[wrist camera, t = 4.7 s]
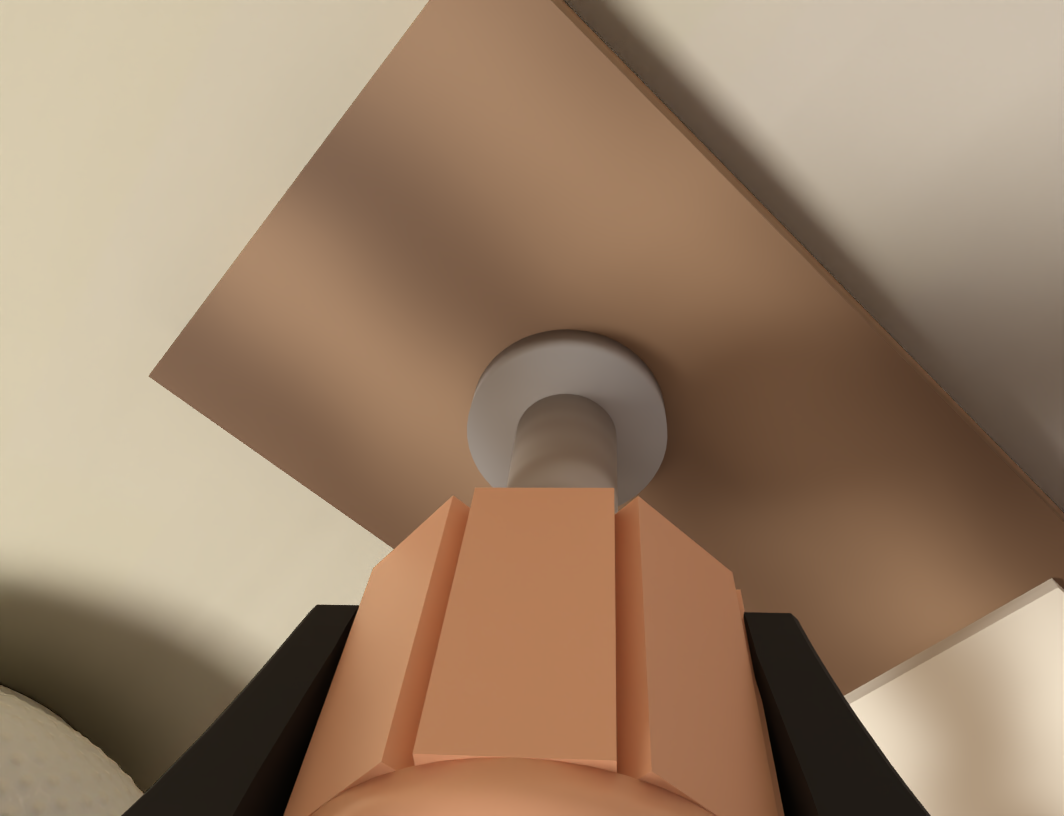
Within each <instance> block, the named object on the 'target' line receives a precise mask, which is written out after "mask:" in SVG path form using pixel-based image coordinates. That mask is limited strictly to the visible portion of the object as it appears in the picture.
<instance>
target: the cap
mask: <svg viewBox="0 0 1064 816" xmlns="http://www.w3.org/2000/svg"><path fill="white" fill-rule="evenodd" d="M744 612H745V610H744V605H743V600H742V595H741V590H736V588H735V583H734V577H733V573H732V572H731V571H730V570H729V569H728V568H726V567H725V566H724V565H723V564H721V563H720V562H719V561H718V560H716V559H715V558H714V557H713V556H712V555H710V554H709V553H708V552H707V551H705V550H704V549H703V548H702V547H700V546H699V545H698V544H697V543H696V542H694V541H693V540H692V539H691V538H689V537H688V536H687V535H686V534H684V533H683V532H682V531H681V530H680V529H678V528H677V527H676V526H675V525H673V524H672V523H671V522H670V521H668V520H667V519H666V518H665V517H664V516H662V515H661V514H660V513H659V512H657V511H656V510H655V509H654V508H652V507H651V506H650V505H649V504H648V503H646V502H645V501H644V500H643V499H641V498H640V497H639V496H637V497H636V498H635V499H633V500H632V501H631V502H630V503H628V504H627V505H626V506H625V507H623V508H622V509H621V510H619V511H618V512H617V513H616V514H615V511H614V488H475V490H474V494H473V499H472V503H471V507H468V506H467V505H466V504H464V503H463V502H462V501H460V500H459V499H457V498H456V497H455V496H452V497H451V498H450V499H448V500H447V501H446V502H445V503H444V504H443V505H442V506H441V507H440V508H439V509H437V510H436V511H435V512H434V513H433V514H432V515H431V516H430V517H429V518H428V519H427V520H425V521H424V522H423V523H422V524H421V525H420V526H419V527H418V528H417V529H416V530H414V531H413V532H412V533H411V534H410V535H409V536H408V537H407V538H406V539H405V540H404V541H402V542H401V543H400V544H399V545H398V546H397V547H396V548H395V549H394V550H393V551H391V552H390V553H389V554H388V555H387V556H386V557H385V558H384V559H383V560H382V561H381V562H379V563H378V564H377V565H376V566H375V567H374V568H373V570H372V573H371V575H370V578H369V581H368V584H367V586H366V589H365V592H364V595H363V597H362V600H361V603H360V606H359V608H358V611H357V614H356V617H355V619H354V622H353V625H352V628H351V630H350V633H349V636H348V639H347V641H346V644H345V647H344V650H343V653H342V655H341V658H340V661H339V664H338V666H337V669H336V672H335V675H334V677H333V680H332V683H331V686H330V688H329V691H328V694H327V697H326V699H325V702H324V705H323V708H322V710H321V713H320V716H319V719H318V721H317V724H316V727H315V730H314V733H313V735H312V738H311V741H310V744H309V746H308V749H307V752H306V755H305V757H304V760H303V763H302V766H301V768H300V771H299V774H298V777H297V779H296V782H295V785H294V788H293V790H292V793H291V796H290V799H289V801H288V804H287V807H286V810H285V813H284V815H283V816H784V811H783V806H782V801H781V795H780V790H779V785H778V780H777V775H776V770H775V765H774V759H773V754H772V749H771V744H770V739H769V734H768V729H767V723H766V718H765V713H764V708H763V703H762V699H761V696H760V693H759V689H758V686H757V683H756V679H755V675H754V670H753V665H752V660H751V654H750V649H749V644H748V639H747V634H746V628H745V623H744V618H743V617H744Z"/></svg>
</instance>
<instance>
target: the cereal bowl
mask: <svg viewBox="0 0 1064 816" xmlns="http://www.w3.org/2000/svg"><path fill="white" fill-rule="evenodd" d="M142 795H143V792H142V791H141V790H139V789H138V788H137V787H136V785H135V784H134V782H133V780H132V778H131V777H130V776H129V775H127V774H126V773H124V772H123V771H122V770H121V768H120V767H119V766H118V764H117V763H116V762H114V761H113V760H112V759H110V758H109V757H107V756H106V755H105V753H104V752H103V751H102V750H101V748H99V747H97V746H95V745H93V744H92V743H91V742H90V741H89V740H88V738H86V737H83V736H82V735H81V734H80V733H79V732H77V731H75V730H74V729H73V728H72V727H71V726H70V725H68V724H67V723H66V722H65V721H64V720H63V719H62V718H60V717H59V716H58V715H56V714H55V713H53V712H52V711H50V710H49V709H48V708H46V707H44V706H43V705H41V704H39V703H37V702H36V701H34V700H32V699H30V698H28V697H26V696H24V695H22V694H20V693H18V692H16V691H14V690H11V689H9V688H7V687H4V686H2V685H0V816H121V815H122V814H123V813H124V812H125V811H126V810H128V809H129V808H130V807H131V806H132V805H133V804H134V803H135V802H136V801H137V800H138V799H139V798H140V797H141V796H142Z"/></svg>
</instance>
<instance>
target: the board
mask: <svg viewBox="0 0 1064 816" xmlns="http://www.w3.org/2000/svg"><path fill="white" fill-rule="evenodd" d="M149 377H150V378H152V379H153V380H155V381H156V382H157V383H159V384H160V385H162V386H163V387H165V388H166V389H167V390H169V391H170V392H172V393H173V394H174V395H176V396H177V397H179V398H180V399H182V400H183V401H184V402H186V403H187V404H189V405H190V406H192V407H193V408H194V409H196V410H197V411H199V412H200V413H201V414H203V415H204V416H206V417H207V418H209V419H210V420H211V421H213V422H214V423H216V424H217V425H219V426H220V427H221V428H223V429H224V430H226V431H227V432H228V433H230V434H231V435H233V436H234V437H236V438H237V439H238V440H240V441H241V442H243V443H244V444H246V445H247V446H248V447H250V448H251V449H253V450H254V451H255V452H257V453H258V454H260V455H261V456H263V457H264V458H265V459H267V460H268V461H270V462H271V463H273V464H274V465H275V466H277V467H278V468H280V469H281V470H283V471H284V472H285V473H287V474H288V475H290V476H291V477H292V478H294V479H295V480H297V481H298V482H300V483H301V484H302V485H304V486H305V487H307V488H308V489H310V490H311V491H312V492H314V493H315V494H317V495H318V496H319V497H321V498H322V499H324V500H325V501H327V502H328V503H329V504H331V505H332V506H334V507H335V508H337V509H338V510H339V511H341V512H342V513H344V514H345V515H346V516H348V517H349V518H351V519H352V520H354V521H355V522H356V523H358V524H359V525H361V526H362V527H364V528H365V529H366V530H368V531H369V532H371V533H372V534H373V535H375V536H376V537H378V538H379V539H381V540H382V541H383V542H385V543H386V544H388V545H389V546H391V547H392V548H393V549H395V548H396V547H397V546H398V545H399V544H400V543H401V542H402V541H404V540H405V539H406V538H407V537H408V536H409V535H410V534H411V533H412V532H413V531H414V530H416V529H417V528H418V527H419V526H420V525H421V524H422V523H423V522H424V521H425V520H427V519H428V518H429V517H430V516H431V515H432V514H433V513H434V512H435V511H436V510H437V509H439V508H440V507H441V506H442V505H443V504H444V503H445V502H446V501H447V500H448V499H450V498H451V497H452V496H455V497H456V498H457V499H459V500H460V501H462V502H463V503H464V504H466V505H467V506H468V507H471V503H472V499H473V494H474V490H475V488H614V511H615V514H616V513H617V512H618V511H619V510H621V509H622V508H623V507H625V506H626V505H627V504H628V503H630V502H631V501H632V500H633V499H635V498H636V497H637V496H639V497H640V498H641V499H643V500H644V501H645V502H646V503H648V504H649V505H650V506H651V507H652V508H654V509H655V510H656V511H657V512H659V513H660V514H661V515H662V516H664V517H665V518H666V519H667V520H668V521H670V522H671V523H672V524H673V525H675V526H676V527H677V528H678V529H680V530H681V531H682V532H683V533H684V534H686V535H687V536H688V537H689V538H691V539H692V540H693V541H694V542H696V543H697V544H698V545H699V546H700V547H702V548H703V549H704V550H705V551H707V552H708V553H709V554H710V555H712V556H713V557H714V558H715V559H716V560H718V561H719V562H720V563H721V564H723V565H724V566H725V567H726V568H728V569H729V570H730V571H731V572H732V573H733V577H734V583H735V588H736V590H741V595H742V600H743V605H744V610H745V612H762V613H791V614H792V615H793V616H794V617H796V618H797V619H798V621H799V622H800V624H801V626H802V628H803V630H804V632H805V633H806V635H807V637H808V639H809V640H810V642H811V644H812V646H813V647H814V649H815V651H816V652H817V654H818V656H819V657H820V659H821V661H822V662H823V664H824V666H825V667H826V669H827V670H828V672H829V674H830V675H831V677H832V678H833V680H834V682H835V683H836V685H837V686H838V688H839V689H840V691H841V692H842V694H843V696H844V697H845V699H846V700H847V702H848V703H849V705H850V706H851V708H852V709H853V711H854V712H855V714H856V715H857V717H858V718H859V719H860V721H861V722H862V724H863V725H864V727H865V728H866V729H867V731H868V732H869V734H870V735H871V736H872V738H873V739H874V741H875V742H876V743H877V745H878V746H879V748H880V749H881V751H882V752H883V753H884V755H885V756H886V758H887V759H888V760H889V762H890V763H891V765H892V766H893V767H894V769H895V770H896V771H897V773H898V774H899V775H900V777H901V778H902V779H903V781H904V782H905V783H906V785H907V786H908V787H909V789H910V790H911V791H912V792H913V794H914V795H915V796H916V797H917V799H918V800H919V801H920V802H921V804H922V805H923V806H924V808H925V809H926V810H927V811H928V813H929V814H930V815H931V816H1064V512H1063V511H1062V510H1061V509H1060V508H1059V507H1058V506H1057V505H1056V504H1055V503H1054V502H1053V501H1052V500H1051V499H1050V498H1049V497H1048V496H1047V495H1046V494H1045V493H1044V492H1043V491H1042V490H1041V489H1040V488H1039V487H1038V486H1037V485H1036V484H1035V483H1034V482H1033V481H1032V480H1031V479H1030V478H1029V477H1028V476H1027V475H1026V474H1025V473H1024V472H1023V470H1022V469H1021V468H1020V467H1019V466H1018V465H1017V464H1016V463H1015V462H1014V461H1013V460H1012V459H1011V458H1010V457H1009V456H1008V455H1007V454H1006V453H1005V452H1004V451H1003V450H1002V449H1001V448H1000V447H999V446H998V445H997V444H996V443H995V442H994V441H993V440H992V439H991V438H990V437H989V436H988V435H987V434H986V433H985V432H984V431H983V430H982V429H981V428H980V427H979V425H978V424H977V423H976V422H975V421H974V420H973V419H972V418H971V417H970V416H969V415H968V414H967V413H966V412H965V411H964V410H963V409H962V408H961V407H960V406H959V405H958V404H957V403H956V402H955V401H954V400H953V399H952V398H951V397H950V396H949V395H948V394H947V393H946V392H945V391H944V390H943V389H942V388H941V387H940V386H939V385H938V384H937V383H936V382H935V380H934V379H933V378H932V377H931V376H930V375H929V374H928V373H927V372H926V371H925V370H924V369H923V368H922V367H921V366H920V365H919V364H918V363H917V362H916V361H915V360H914V359H913V358H912V357H911V356H910V355H909V354H908V353H907V352H906V351H905V350H904V349H903V348H902V347H901V346H900V345H899V344H898V343H897V342H896V341H895V340H894V339H893V338H892V337H891V336H890V334H889V333H888V332H887V331H886V330H885V329H884V328H883V327H882V326H881V325H880V324H879V323H878V322H877V321H876V320H875V319H874V318H873V317H872V316H871V315H870V314H869V313H868V312H867V311H866V310H865V309H864V308H863V307H862V306H861V305H860V304H859V303H858V302H857V301H856V300H855V299H854V298H853V297H852V296H851V295H850V294H849V293H848V292H847V291H846V289H845V288H844V287H843V286H842V285H841V284H840V283H839V282H838V281H837V280H836V279H835V278H834V277H833V276H832V275H831V274H830V273H829V272H828V271H827V270H826V269H825V268H824V267H823V266H822V265H821V264H820V263H819V262H818V261H817V260H816V259H815V258H814V257H813V256H812V255H811V254H810V253H809V252H808V251H807V250H806V249H805V248H804V247H803V246H802V244H801V243H800V242H799V241H798V240H797V239H796V238H795V237H794V236H793V235H792V234H791V233H790V232H789V231H788V230H787V229H786V228H785V227H784V226H783V225H782V224H781V223H780V222H779V221H778V220H777V219H776V218H775V217H774V216H773V215H772V214H771V213H770V212H769V211H768V210H767V209H766V208H765V207H764V206H763V205H762V204H761V203H760V202H759V201H758V199H757V198H756V197H755V196H754V195H753V194H752V193H751V192H750V191H749V190H748V189H747V188H746V187H745V186H744V185H743V184H742V183H741V182H740V181H739V180H738V179H737V178H736V177H735V176H734V175H733V174H732V173H731V172H730V171H729V170H728V169H727V168H726V167H725V166H724V165H723V164H722V163H721V162H720V161H719V160H718V159H717V158H716V157H715V156H714V155H713V153H712V152H711V151H710V150H709V149H708V148H707V147H706V146H705V145H704V144H703V143H702V142H701V141H700V140H699V139H698V138H697V137H696V136H695V135H694V134H693V133H692V132H691V131H690V130H689V129H688V128H687V127H686V126H685V125H684V124H683V123H682V122H681V121H680V120H679V119H678V118H677V117H676V116H675V115H674V114H673V113H672V112H671V111H670V110H669V108H668V107H667V106H666V105H665V104H664V103H663V102H662V101H661V100H660V99H659V98H658V97H657V96H656V95H655V94H654V93H653V92H652V91H651V90H650V89H649V88H648V87H647V86H646V85H645V84H644V83H643V82H642V81H641V80H640V79H639V78H638V77H637V76H636V75H635V74H634V73H633V72H632V71H631V70H630V69H629V68H628V67H627V66H626V65H625V63H624V62H623V61H622V60H621V59H620V58H619V57H618V56H617V55H616V54H615V53H614V52H613V51H612V50H611V49H610V48H609V47H608V46H607V45H606V44H605V43H604V42H603V41H602V40H601V39H600V38H599V37H598V36H597V35H596V34H595V33H594V32H593V31H592V30H591V29H590V28H589V27H588V26H587V25H586V24H585V23H584V22H583V21H582V20H581V18H580V17H579V16H578V15H577V14H576V13H575V12H574V11H573V10H572V9H571V8H570V7H569V6H568V5H567V4H566V3H565V2H564V1H563V0H429V2H428V3H427V4H426V6H425V7H424V8H423V10H422V11H421V12H420V14H419V15H418V16H417V18H416V19H415V20H414V22H413V23H412V24H411V26H410V27H409V28H408V30H407V31H406V32H405V34H404V35H403V36H402V38H401V39H400V40H399V42H398V43H397V44H396V46H395V47H394V48H393V50H392V51H391V52H390V54H389V55H388V56H387V58H386V59H385V60H384V62H383V63H382V64H381V66H380V67H379V69H378V70H377V71H376V73H375V74H374V75H373V77H372V78H371V79H370V81H369V82H368V83H367V85H366V86H365V87H364V89H363V90H362V91H361V93H360V94H359V95H358V97H357V98H356V99H355V101H354V102H353V103H352V105H351V106H350V107H349V109H348V110H347V111H346V113H345V114H344V115H343V117H342V118H341V119H340V121H339V122H338V123H337V125H336V126H335V127H334V129H333V130H332V131H331V133H330V134H329V135H328V137H327V138H326V139H325V141H324V142H323V143H322V145H321V146H320V147H319V149H318V150H317V151H316V153H315V154H314V155H313V157H312V158H311V159H310V161H309V162H308V163H307V165H306V166H305V167H304V169H303V170H302V171H301V173H300V174H299V175H298V177H297V178H296V179H295V181H294V182H293V184H292V185H291V186H290V188H289V189H288V190H287V192H286V193H285V194H284V196H283V197H282V198H281V200H280V201H279V202H278V204H277V205H276V206H275V208H274V209H273V210H272V212H271V213H270V214H269V216H268V217H267V218H266V220H265V221H264V222H263V224H262V225H261V226H260V228H259V229H258V230H257V232H256V233H255V234H254V236H253V237H252V238H251V240H250V241H249V242H248V244H247V245H246V246H245V248H244V249H243V250H242V252H241V253H240V254H239V256H238V257H237V258H236V260H235V261H234V262H233V264H232V265H231V266H230V268H229V269H228V270H227V272H226V273H225V274H224V276H223V277H222V278H221V280H220V281H219V282H218V284H217V285H216V286H215V288H214V289H213V290H212V292H211V293H210V294H209V296H208V297H207V299H206V300H205V301H204V303H203V304H202V305H201V307H200V308H199V309H198V311H197V312H196V313H195V315H194V316H193V317H192V319H191V320H190V321H189V323H188V324H187V325H186V327H185V328H184V329H183V331H182V332H181V333H180V335H179V336H178V337H177V339H176V340H175V341H174V343H173V344H172V345H171V347H170V348H169V349H168V351H167V352H166V353H165V355H164V356H163V357H162V359H161V360H160V361H159V363H158V364H157V365H156V367H155V368H154V369H153V371H152V372H151V373H150V375H149Z"/></svg>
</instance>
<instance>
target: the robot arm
mask: <svg viewBox="0 0 1064 816" xmlns="http://www.w3.org/2000/svg"><path fill="white" fill-rule="evenodd" d="M358 608H359V605H316V606H315V607H314V608H313V609H312V610H311V611H310V612H309V613H308V615H307V616H306V617H305V618H304V619H303V620H302V622H301V623H300V624H299V625H298V626H297V627H296V629H295V630H294V631H293V632H292V633H291V635H290V636H289V637H288V638H287V639H286V641H285V642H284V643H283V644H282V645H281V646H280V648H279V649H278V650H277V651H276V652H275V654H274V655H273V656H272V657H271V658H270V659H269V661H268V662H267V663H266V664H265V665H264V666H263V668H262V669H261V670H260V671H259V672H258V673H257V674H256V676H255V677H254V678H253V679H252V680H251V681H250V683H249V684H248V685H247V686H246V687H245V688H244V689H243V690H242V692H241V693H240V694H239V695H238V696H237V697H236V698H235V699H234V700H233V702H232V703H231V704H230V705H229V706H228V707H227V708H226V709H225V710H224V712H223V713H222V714H221V715H220V716H219V717H218V718H217V719H216V720H215V722H214V723H213V724H212V725H211V726H210V727H209V728H208V729H207V730H206V731H205V732H204V733H203V735H202V736H201V737H200V738H199V739H198V740H197V741H196V742H195V743H194V744H193V745H192V746H191V747H190V748H189V749H188V750H187V751H186V752H185V753H184V754H183V755H182V756H181V757H180V758H179V759H178V760H177V761H176V762H175V763H174V764H173V765H172V766H171V767H170V768H169V769H168V770H167V771H166V772H165V773H164V774H163V775H162V776H161V777H160V779H159V780H158V781H157V782H156V783H155V784H154V785H153V786H152V787H151V788H150V789H148V790H147V791H146V792H145V793H144V794H143V795H142V796H141V797H140V798H139V799H138V800H137V801H136V802H135V803H134V804H133V805H132V806H131V807H130V808H129V809H128V810H126V811H125V812H124V813H123V814H122V815H121V816H283V815H284V813H285V810H286V807H287V804H288V801H289V799H290V796H291V793H292V790H293V788H294V785H295V782H296V779H297V777H298V774H299V771H300V768H301V766H302V763H303V760H304V757H305V755H306V752H307V749H308V746H309V744H310V741H311V738H312V735H313V733H314V730H315V727H316V724H317V721H318V719H319V716H320V713H321V710H322V708H323V705H324V702H325V699H326V697H327V694H328V691H329V688H330V686H331V683H332V680H333V677H334V675H335V672H336V669H337V666H338V664H339V661H340V658H341V655H342V653H343V650H344V647H345V644H346V641H347V639H348V636H349V633H350V630H351V628H352V625H353V622H354V619H355V617H356V614H357V611H358ZM743 618H744V623H745V628H746V634H747V639H748V644H749V649H750V654H751V660H752V665H753V670H754V675H755V679H756V683H757V686H758V689H759V693H760V696H761V699H762V703H763V708H764V713H765V718H766V723H767V729H768V734H769V739H770V744H771V749H772V754H773V759H774V765H775V770H776V775H777V780H778V785H779V790H780V795H781V801H782V806H783V811H784V816H931V815H930V814H929V813H928V811H927V810H926V809H925V808H924V806H923V805H922V804H921V802H920V801H919V800H918V799H917V797H916V796H915V795H914V794H913V792H912V791H911V790H910V789H909V787H908V786H907V785H906V783H905V782H904V781H903V779H902V778H901V777H900V775H899V774H898V773H897V771H896V770H895V769H894V767H893V766H892V765H891V763H890V762H889V760H888V759H887V758H886V756H885V755H884V753H883V752H882V751H881V749H880V748H879V746H878V745H877V743H876V742H875V741H874V739H873V738H872V736H871V735H870V734H869V732H868V731H867V729H866V728H865V727H864V725H863V724H862V722H861V721H860V719H859V718H858V717H857V715H856V714H855V712H854V711H853V709H852V708H851V706H850V705H849V703H848V702H847V700H846V699H845V697H844V696H843V694H842V692H841V691H840V689H839V688H838V686H837V685H836V683H835V682H834V680H833V678H832V677H831V675H830V674H829V672H828V670H827V669H826V667H825V666H824V664H823V662H822V661H821V659H820V657H819V656H818V654H817V652H816V651H815V649H814V647H813V646H812V644H811V642H810V640H809V639H808V637H807V635H806V633H805V632H804V630H803V628H802V626H801V624H800V622H799V621H798V619H797V618H796V617H794V616H793V615H792V614H791V613H762V612H744V617H743Z"/></svg>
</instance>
